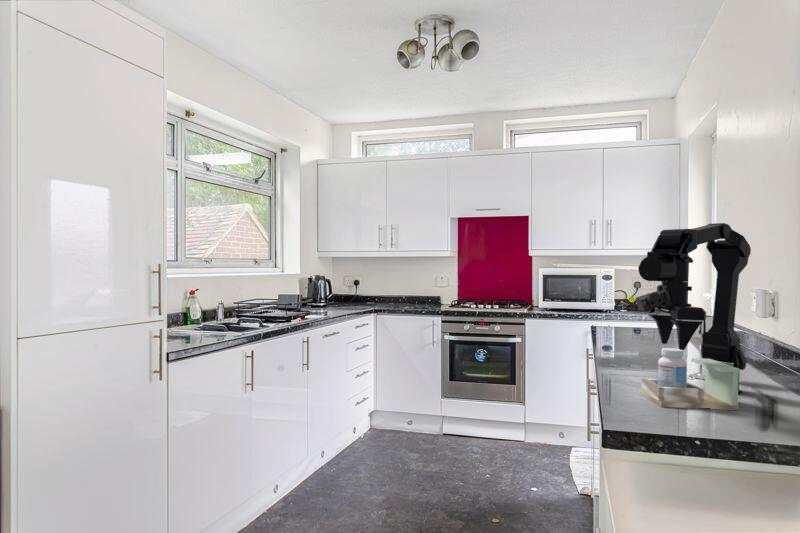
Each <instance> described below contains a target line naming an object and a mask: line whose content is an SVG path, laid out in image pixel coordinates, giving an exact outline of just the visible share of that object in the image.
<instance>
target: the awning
mask: <svg viewBox="0 0 800 533" xmlns="http://www.w3.org/2000/svg"><path fill="white" fill-rule="evenodd" d="M691 362H692V363H695V364H698V365H699V364H700V365H702V367H703V366H704V367H705V374H704V375H705V379H704V392H706V393H708V394H710V395H712V396H714V397H716V398H718V399H721V400H723V401H725V402H727V403H729V404H731V405H738V399H739V398H738V397H739V396H738V395H739V392H738V374H739V375H740V373H741V370H740V369H738V368H735V367H732V366H730V365H727V364H724V363H721V362H720V361H719V362H718V361H715V360H712V359H704V358H700V357H692V358H691ZM738 406H739V405H738Z"/></svg>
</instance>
